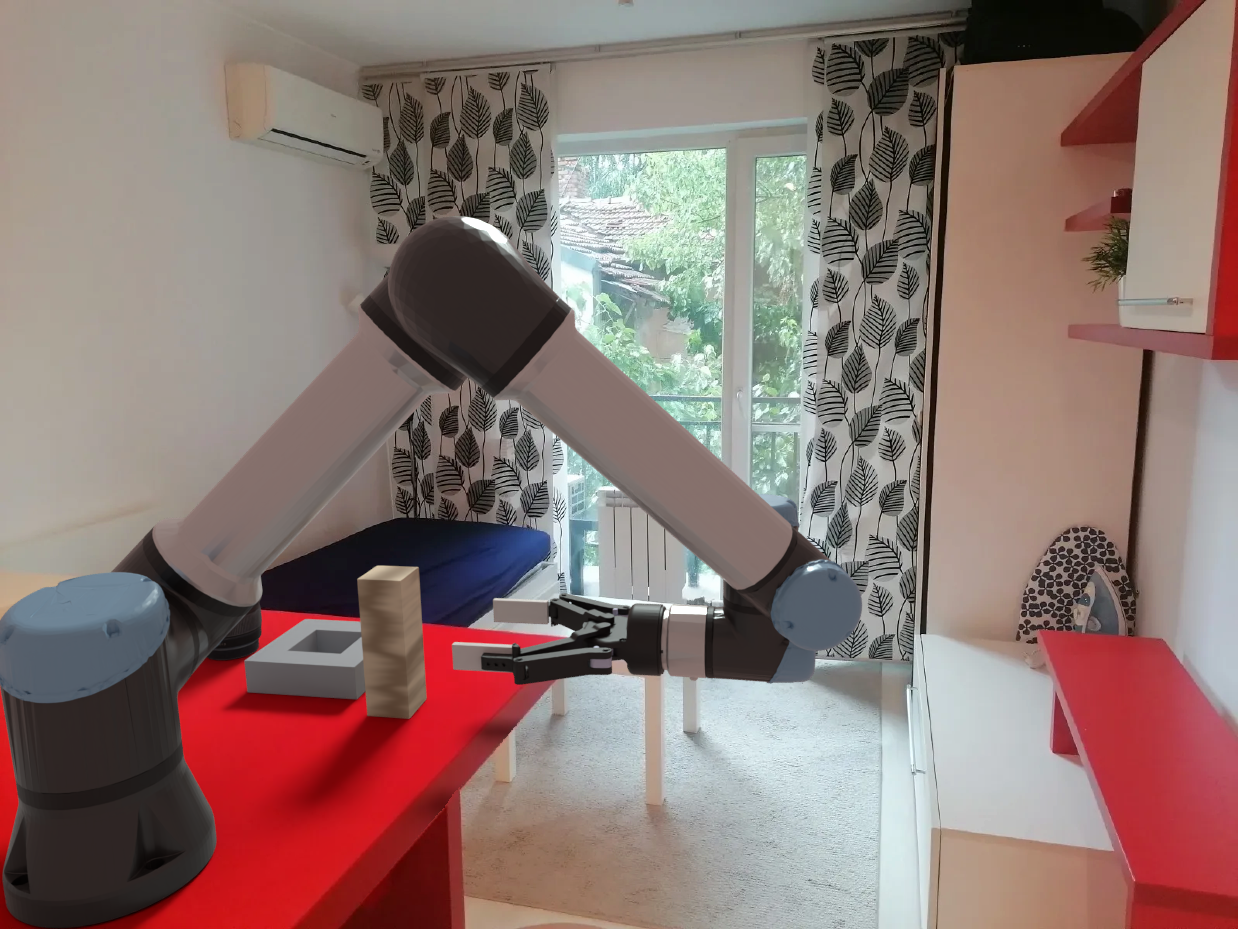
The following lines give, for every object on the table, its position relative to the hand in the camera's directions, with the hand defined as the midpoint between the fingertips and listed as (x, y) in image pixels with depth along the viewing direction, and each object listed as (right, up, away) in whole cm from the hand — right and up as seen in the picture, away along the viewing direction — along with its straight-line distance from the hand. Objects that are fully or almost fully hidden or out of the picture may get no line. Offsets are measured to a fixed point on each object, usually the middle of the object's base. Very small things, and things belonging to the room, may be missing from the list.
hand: (475, 631), depth 97 cm
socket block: (-20, -8, +14) cm, 26 cm away
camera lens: (-36, -7, +21) cm, 42 cm away
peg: (-9, -9, +3) cm, 14 cm away
